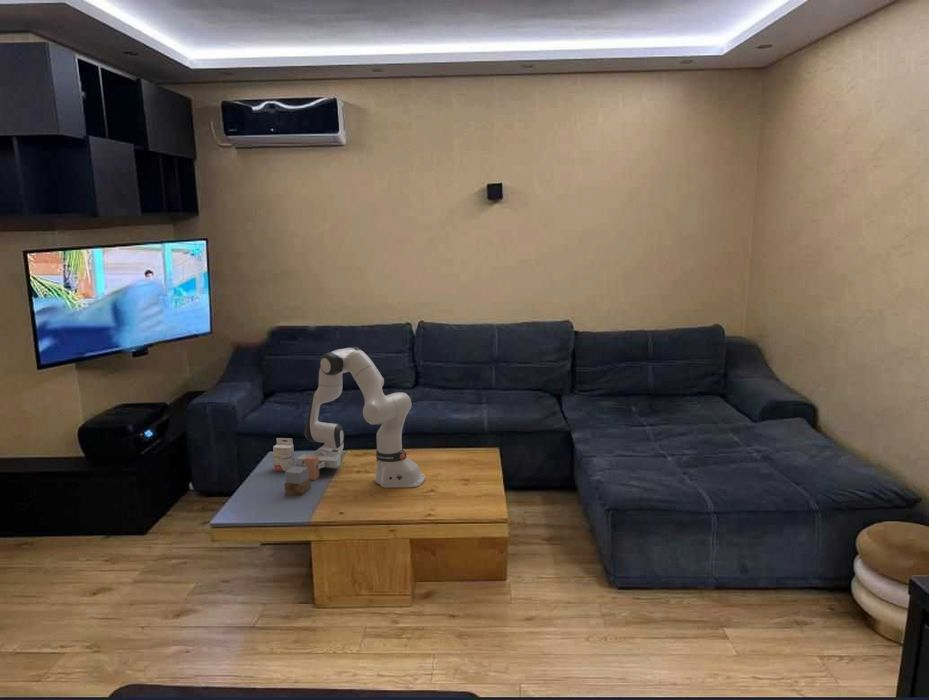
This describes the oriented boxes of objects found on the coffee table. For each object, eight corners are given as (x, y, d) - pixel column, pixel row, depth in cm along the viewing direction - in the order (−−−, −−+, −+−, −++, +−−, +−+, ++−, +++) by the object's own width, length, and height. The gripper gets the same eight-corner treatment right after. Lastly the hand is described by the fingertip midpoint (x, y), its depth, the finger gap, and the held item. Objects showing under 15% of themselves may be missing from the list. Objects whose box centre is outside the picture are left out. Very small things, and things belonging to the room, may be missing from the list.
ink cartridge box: (274, 470, 314) (271, 441, 311) (277, 467, 319) (275, 437, 316) (291, 471, 313) (289, 441, 310) (295, 467, 318) (293, 437, 315)
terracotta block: (319, 476, 306) (318, 455, 304) (315, 480, 302) (313, 459, 300) (310, 475, 307) (309, 455, 305) (306, 479, 303) (304, 458, 301)
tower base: (310, 488, 294) (310, 477, 293) (302, 495, 286) (301, 484, 285) (294, 487, 295) (293, 476, 294) (285, 494, 288) (284, 483, 287)
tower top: (308, 478, 292) (307, 467, 291) (300, 484, 285) (299, 473, 284) (294, 476, 294) (293, 466, 293) (285, 482, 287) (284, 471, 286)
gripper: (303, 448, 318) (289, 459, 305) (343, 451, 313) (331, 461, 300) (304, 461, 319) (290, 472, 306) (344, 463, 315) (332, 474, 301)
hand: (311, 467), depth 303 cm, fingers closed on terracotta block, 4 cm apart
